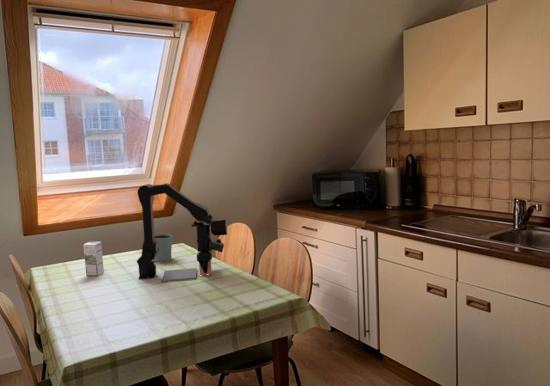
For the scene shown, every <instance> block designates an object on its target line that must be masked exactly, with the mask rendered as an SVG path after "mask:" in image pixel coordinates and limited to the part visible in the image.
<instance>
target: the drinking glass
mask: <svg viewBox="0 0 550 386" xmlns="http://www.w3.org/2000/svg"><path fill="white" fill-rule="evenodd" d="M154 237H155V240H156V241H159V248H160V250H159V252H158V254H157V255H156V257H155V258H154V260H153V261H154V263H157V262H162V263H167V262H166V261H168V262H170V261H172V250H173V249H172V246H173V245H172V243H173V241H172V240H173V235H172V234H168V233H167V234H166V233H165V234H154Z"/></svg>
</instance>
